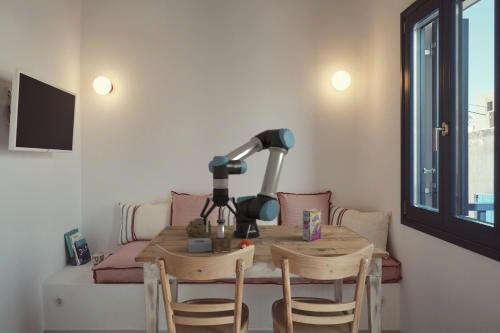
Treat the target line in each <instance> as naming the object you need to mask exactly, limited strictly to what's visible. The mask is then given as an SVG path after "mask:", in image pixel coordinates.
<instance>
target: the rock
mask: <svg viewBox="0 0 500 333" xmlns="http://www.w3.org/2000/svg"><path fill="white" fill-rule="evenodd" d="M185 229H186V232H187V236H188V237H190V236H194V237H199V238H209V236H211V233H212V224H211V221H210V220H209V219H208V232H206V225H204V218H201V217H198V218H197V217H196V218H194V219H193V220H190V221H189V222H188V224H187V226H186V227H185Z"/></svg>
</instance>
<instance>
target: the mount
mask: <svg viewBox="0 0 500 333" xmlns="http://www.w3.org/2000/svg"><path fill="white" fill-rule="evenodd" d="M231 241H232V240H231V238H230V237H229V236H228V235H225V239H218V236H211V242H212V249H213V250H212V252H213V251H214V252H222V251H232V246H231V243H232V242H231ZM214 252H213V253H214Z"/></svg>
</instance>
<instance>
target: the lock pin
mask: <svg viewBox="0 0 500 333" xmlns="http://www.w3.org/2000/svg"><path fill="white" fill-rule="evenodd" d="M216 223H217V237H218V239H225V236H226V235H225V234H226V233H225V223H226V219H224V218H219V219H216Z"/></svg>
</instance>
